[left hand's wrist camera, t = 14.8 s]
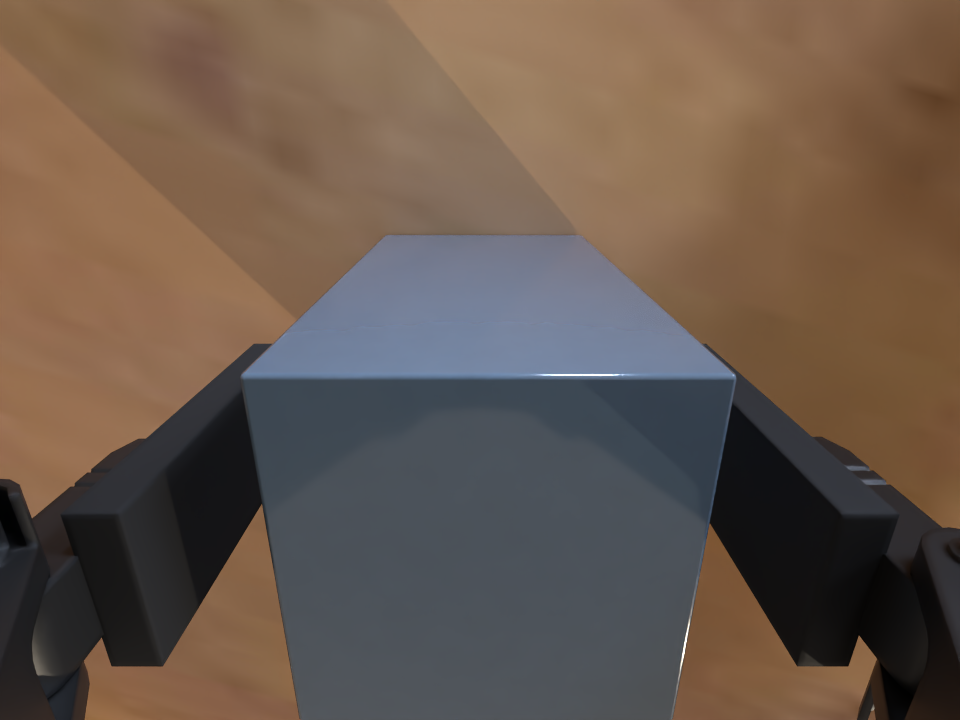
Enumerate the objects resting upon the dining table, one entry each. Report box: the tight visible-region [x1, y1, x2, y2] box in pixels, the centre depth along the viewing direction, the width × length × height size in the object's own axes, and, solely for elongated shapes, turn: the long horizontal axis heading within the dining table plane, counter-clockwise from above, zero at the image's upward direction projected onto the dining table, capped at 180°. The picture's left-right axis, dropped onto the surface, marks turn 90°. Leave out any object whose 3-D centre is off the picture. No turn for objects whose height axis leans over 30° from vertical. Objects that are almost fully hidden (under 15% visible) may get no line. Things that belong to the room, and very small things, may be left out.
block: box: [240, 235, 736, 720], centre depth 13 cm, size 6×6×11 cm
